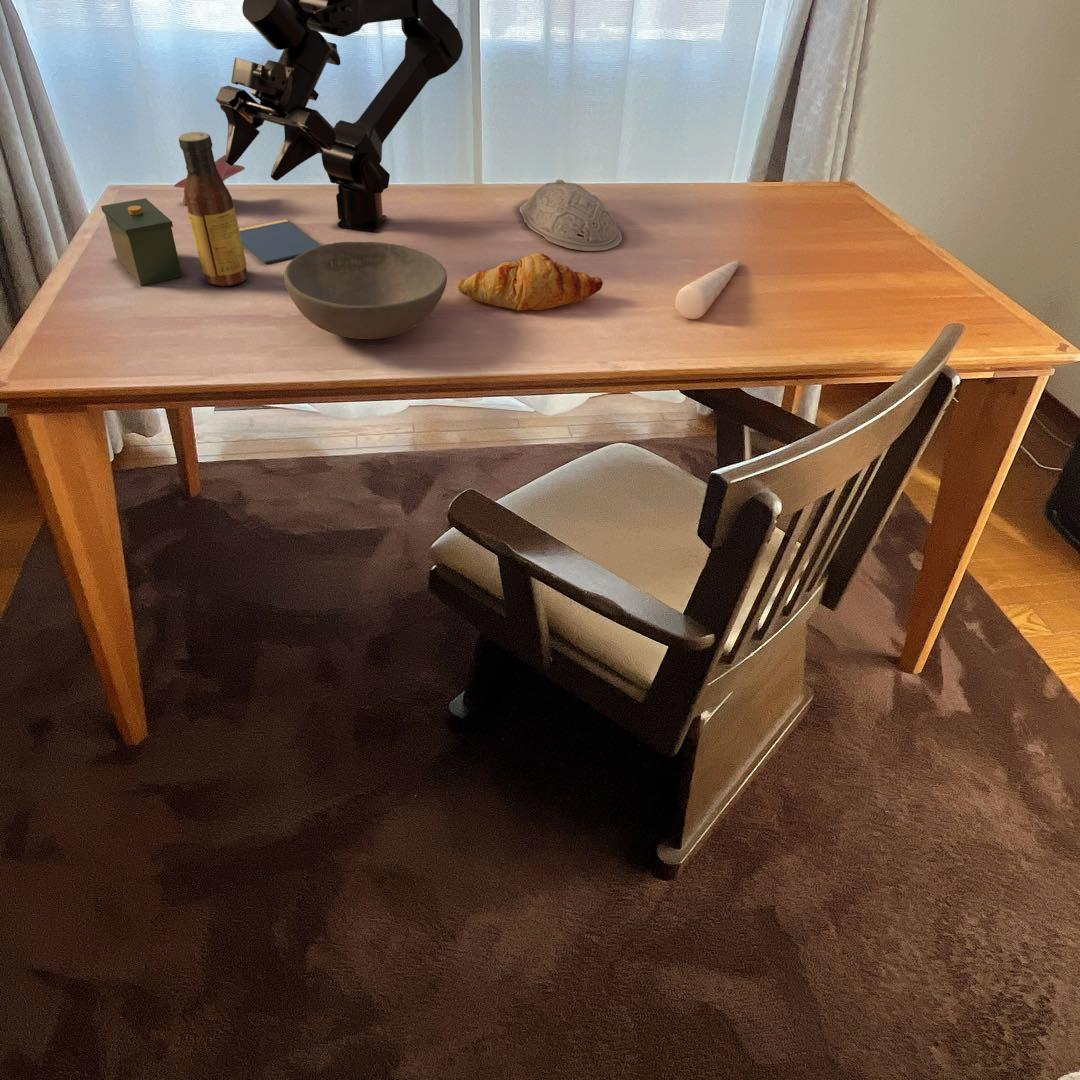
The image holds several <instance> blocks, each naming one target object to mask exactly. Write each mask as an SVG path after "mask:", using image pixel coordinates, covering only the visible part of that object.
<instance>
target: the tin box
mask: <svg viewBox="0 0 1080 1080" xmlns="http://www.w3.org/2000/svg"><path fill="white" fill-rule="evenodd" d="M100 208H101V211H102V213H103V214H104V216H105V219H106V222H107V227H108V231H109V234H110V238H111V241H112V246H113V249H114V252H115V256H116V260H117V262H118V263H119V264H120V265H121V266H122V267H123V268H124V270H125V271H127V272H128V274H129V275H130V276H131V277H132V278H133V279H134V280H135V281H136V282H137V283H138V284H139V285H140V286H146V285H151V284H154V283H160V282H164V281H169V280H172V279H177V278H182V277H183V274H182V269H181V265H180V260H179V255H178V251H177V246H176V242H175V238H174V233H173V229H172V228H173V227H174V224H173V221H172V220H171V219H170V218H169V217H168V216H167V215H166V214H164V212H162V211H161V210H160V209H159V208H158V207H156V206H155V204H153V203H152V202H151V201H150V200H148V199H147V198H138V199H133V200H127V201H121V202H116V203H109V204H104V205H101V206H100Z"/></svg>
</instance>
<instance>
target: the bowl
mask: <svg viewBox="0 0 1080 1080" xmlns="http://www.w3.org/2000/svg"><path fill="white" fill-rule="evenodd" d="M320 245H321V244H320ZM283 275H284V276H283V281H284V284H285V288H286V290H287V293H288V295H289V296H290V298H291V300H292V302H293V303H294V305H295V306H296V308H297V309H298V310H299V312H300V313H301V314H302V315H303V316H304V318H306V319H307V320H308V321H309V322H310V323H312V324H313V325H314V326H316V327H317V328H320V329H321V330H324V331H326V332H328V333H330V334H334V335H336V336H340V337H343V338H349V339H356V340H377V339H386V338H391V337H396V336H399V335H402V334H403V333H406V332H408V331H410V330H412V329H413V328H415V327H416V326H418V325H419V324H421V323H422V322H424V321H425V320H426V319H427V318H428V317H429V316H430V315H431V314H432V313H433V312H434V310H435V309H436V308H437V306H438V305H439V303H440V301H441V299H442V297H443V296H444V293H445V290H446V287H447V283H448V273H447V271H446V269H445V267H444V265H443V264H442V263H441V262H440V261H438V260H437V259H436V258H434V257H433V256H431V255H429V254H427V253H424V252H422V251H419V250H416V249H414V248H411V247H407V246H405V245H399V244H395V243H387V242H378V241H341V242H339V241H338V242H333V243H327V244H322V245H321V246H318V247H315V248H313V249H310V250H308V251H305V252H303V253H301V254H300V255H298V256H297V257H294V258H292V260H291V261H289V262H288V264H287V265H286V266H285V270H284V273H283Z"/></svg>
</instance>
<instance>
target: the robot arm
mask: <svg viewBox="0 0 1080 1080" xmlns="http://www.w3.org/2000/svg"><path fill="white" fill-rule="evenodd" d="M435 3H436V2H434V0H243V2H242V5H241V6H242V7H241V10H242V15H243V17H244V18H245V19H246V20H247V21H248V22H249V23H250V24H251V26H252V27H253V28H254V29H255V31H257V32H258V33H259V34H260V35H261V37H263V39H264V40H265V41H266V42H267V43H268V44H269V45H270V46H271V47H272V48H273V49H275V50H276V51H277V50H278V51H282V53H281V55H280V57H279V59H278V61H274V60H271V59H268V60H267V61H266V62H265V64H264V65H263V64H260V63H256V62H254V61H250V60H246V59H242V58H238V57H234V62H233V69H232V73H231V74H232V75H231V80H230V83H231V84H234V85H237V86H238V85H241V86H244V87H246V88H249V89H251V91H250V94H249V92H247V91H246V90H245V89H242V88H238V87H235V86H232V85H225V86H221V87H220V89H219V91H218V93H217V95H216V97H215V101H216V102H217V103H218V104H219V106H220V107H219V108H220V110H221V111H222V112H223V113H224V115H225V118H226V120H227V139H226V151H225V155H226V160H225V161H226V163H227V164H229V165H230V166H232V165H233V164H234V165H235V163H237V161H238V160H239V159H240V158H242V156H243V154H245V152H246V151H247V149H248V148H249V146H251V144H252V143H253V142H254V141H255V140H256V138H257V137H258V136H259V135H260V133H261V131H260V130H258V128H260V127H262V126H263V125H264V122H265V121H266V122H268V123H269V122H270V123H272V124H277V125H280V126H282V127H283V130H284V139H283V143H282V145H281V147H280V149H279V152H278V154H277V157H276V159H275V161H274V164H273V167H272V169H271V173H270V178H271V179H272V180H274V181H276V182H277V181H279V180H280V179H282V178H283V177H284V176H286V175H288V173H290V172H291V171H293V170H294V169H296V168H297V167H298V166H300V165H301V164H303V163H304V162H306V161H308V160H309V159H311V158H313V157H314V156H316V155H317V154H320V155H321V162H322V166H323V168H324V171H325V172H326V174H327V176H328V179H329V182H330V183H331V184H335V185H337V190H338V191H337V192H338V193H337V194H335V199H336V208H337V209H336V210H337V217H338V220H339V221H338V222H337V228H344V229H351V230H352V229H353V230H358V231H367V232H375V231H377V230H378V228H379V227H381V225H382V224H383V223H384V222H385V221H386V220H387V219H388V218H387V217H388V216H387V214H384V213H383V200H382V198H383V197H382V193H384V190H386V189H388V188H389V184H390V179H391V175H390V173H389V172H388V171H387V170H386V168H384V166H382V164H381V162H382V158H383V144H384V142H385V141H386V139H387V137H388V136H389V135H390V134H391V132H392V131H393V129H394V128H395V127H396V126H397V124H398V123H399V121H400V120H401V119H402V117H404V115H405V113H406V112H407V111H408V109H409V108H410V106H411V105H412V104H413V103H414V101H415V100H416V99H417V98H418V96H419V94H420V93H421V91H423V89H424V88H425V87H426V85H427V83H429V81H431V80H432V79H434V78H437V77H440V76H442V75H444V74H446V73H447V72H449V70H450V69H452V68H453V67H454V66H455V65H456V64H457V63H458V62H459V60H460V58H461V56H462V53H463V51H464V50H463V49H464V40H463V37H462V36H461V33H460V30H459V29H458V27H456V25H455V23H454V22H453V20H452V19H451V17H449V16H448V15H447V13H445V12H444V11H443V10H442V9H441V8H440V7H439V6H438V5H437V4H435ZM399 20H400V24H401V25H400V27H401V31H402V33H403V35H404V36H405V37H406V39H405V41H404V57H403V59H402V61H401V62H400V63H399V65H398V66H397V67H396V69H395V70H394V71H393V73H392V74H391V75H390V77H389V78H388V79H387V80H386V81H385V83H384V85H383V86H382V87H381V89H380V90H379V91H378V92H377V94H376V95H375V96H374V98H373V100H371V102H370V103H369V105H368V106H367V107H366V108H365V110H364V111H363V112H362V114H361V115H360V116H359V118H358V119H357V120H356V121H354V122H353V123H352V122H349V121H345V120H342V119H340V120H339V121H337V122H336V123H335V125H334V126H332V125H331V123H330V122H328V120H327V119H326V118H325V117H324V116H323V115H322V114H321V113H320V112H319V111H318V110H317V109H313V108H310V107H308V104H309V101H310V100H311V101H316V102H317V100H318V98H319V95H320V94H319V92H317V90H316V89H315V88H316V86H317V85H318V82H319V80H320V78H321V76H322V73H323V72H324V69H325V67H326V65H327V64H329V65H330V64H331V65H335V66H340V65H341V57H340V55H339V51H338V45H337V44H336V43H335V42H331V41H328V40H327V39H326V38H325V37H324V36H323V34H327V35H331V36H335V37H340V38H341V37H342V38H345V37H347V36H349V35H353V34H355V33H357V32H359V31H361V29H362V28H363V26H365V25H368V24H373V23H381V22H382V23H383V22H389V21H399ZM322 33H323V34H322ZM251 95H252V96H253V97H254V98H256V99H257V100H259V101H260V102H258V101H257V100H256V99H254V98H253V97H252V96H251Z"/></svg>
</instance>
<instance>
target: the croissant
mask: <svg viewBox="0 0 1080 1080" xmlns="http://www.w3.org/2000/svg"><path fill="white" fill-rule="evenodd" d="M603 283H604V281H603V280H602V278H601V277H599V276H589V274H587V273H586V272H583V271H580V270H575V271H573V269H570V267H569V266H568V265H566V264H563V263H560V262H558V261H554V260H553V259H552V258H551V257H550V256H549V255H547V254H544V253H540V252H533V253H530V254H527V255H525V256H522V257H521V258H520V259H519V260H518V261H517V260H513V261H512V260H510V261H505V262H502V263H499V264H498V265H497V266H496V267H494V268H491V269H487V270H479V271H477V272H475V273H474V274H472V275H471V276H470V277H469V278H461V279H459V281H458V282H457V283H456V286H457V291H458V292H459V293H461V294H462V295H464V296H465V297H468V298H469V299H473V300H476V301H478V302H481V303H484V304H489V305H493V306H495V307H496V306H497V307H500V308H506V309H511V310H514V311H515V310H516V311H525V310H527V311H529V310H530V311H541V310H549V309H552V308H554V307H559V306H563V305H567V304H568V305H569V304H574V303H577V302H581V301H584V300H587V299H588V298H590V297H592V296H593V295H595V294H596V293H598V292H599V291H601V290H602V287H603Z"/></svg>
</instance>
